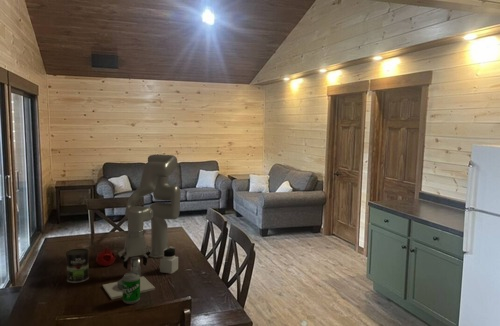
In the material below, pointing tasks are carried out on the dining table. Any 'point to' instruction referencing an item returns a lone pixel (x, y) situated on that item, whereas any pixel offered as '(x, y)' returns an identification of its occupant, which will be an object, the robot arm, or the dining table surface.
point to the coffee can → (77, 265)
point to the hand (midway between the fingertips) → (135, 266)
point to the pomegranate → (105, 258)
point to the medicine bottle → (169, 261)
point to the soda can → (131, 288)
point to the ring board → (119, 292)
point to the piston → (136, 265)
